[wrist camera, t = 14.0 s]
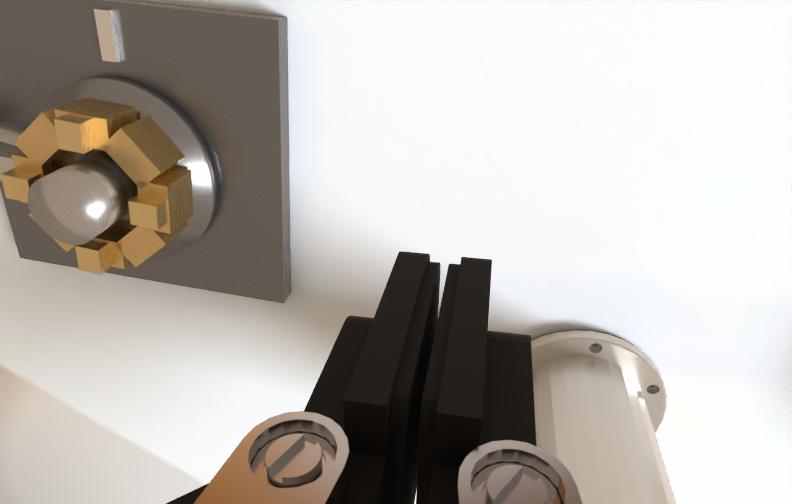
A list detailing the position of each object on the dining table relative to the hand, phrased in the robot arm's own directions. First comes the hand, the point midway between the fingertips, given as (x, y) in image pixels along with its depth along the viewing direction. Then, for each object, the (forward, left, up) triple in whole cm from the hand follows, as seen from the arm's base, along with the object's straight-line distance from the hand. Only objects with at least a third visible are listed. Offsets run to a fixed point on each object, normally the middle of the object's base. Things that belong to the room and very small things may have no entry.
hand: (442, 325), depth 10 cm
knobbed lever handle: (-9, +28, -24) cm, 38 cm away
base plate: (-9, +23, -26) cm, 36 cm away
